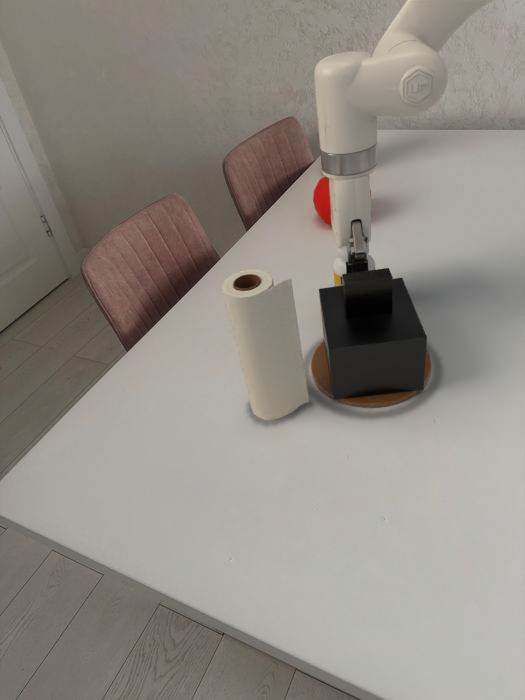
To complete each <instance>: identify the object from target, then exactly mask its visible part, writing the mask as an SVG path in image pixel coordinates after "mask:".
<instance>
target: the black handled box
mask: <svg viewBox="0 0 525 700" xmlns="http://www.w3.org/2000/svg"><path fill="white" fill-rule="evenodd" d="M342 281H343V285H339V286H335V285H334V286H329V287H323V288H318V294H319V304H320V305H319V306H320V315H321V323H322V324H321V325H322V334H323V340H324V341H322V342H321V343H320V344H319V345H318V347H316V349H315V351H314V353H313V355H312V357H311V363H310V370H311V376H312V378H313V380H314V383H315V384H316V386H317V387H318V388H319V390H321V392H323V393H324V394H325V395H326V396H328V397H329V398H331V399H332V400H333V401H336V402H339V403H340V404H341V403H342V404H343V405H347V406H352V407H358V408H367V409H368V408H369V409H371V408H372V409H373V408H383V407H384V408H385V407H389V406H394V405H397V404H400V403H402V402H405V401H407V400H409V399H411V398H413V397H414V396H415V395H417V394H418V393H419V392H420V391H424V390H425V386H426V384H427V383H428V381H429V379H430V376H431V373H432V372H431V371H432V358H431V355H430V353H429V351H428V349H427V345H428V344H427V343H428V336H427V334H426V332H425V330H424V327H423V325H422V322H421V320H420V318H419V315H418V312H417V310H416V307H415V305H414V303H413V300H412V297H411V295H410V293H409V291H408V288H407V286H406V284H405V281H404V279H403V277H396V278H394V277H393V275H392V272H391V270H390V267H386V268H385V267H384V268H378V269H375V270H370V271H362V272H355V273H348V274H342Z"/></svg>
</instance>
